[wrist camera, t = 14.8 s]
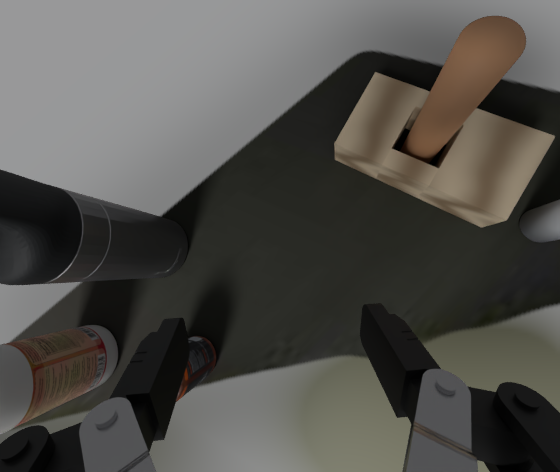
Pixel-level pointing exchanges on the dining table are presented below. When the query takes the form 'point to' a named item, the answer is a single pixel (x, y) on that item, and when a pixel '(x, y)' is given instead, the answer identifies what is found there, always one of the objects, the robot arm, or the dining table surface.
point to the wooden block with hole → (454, 159)
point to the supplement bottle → (197, 364)
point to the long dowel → (464, 82)
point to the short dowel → (542, 223)
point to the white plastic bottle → (52, 371)
